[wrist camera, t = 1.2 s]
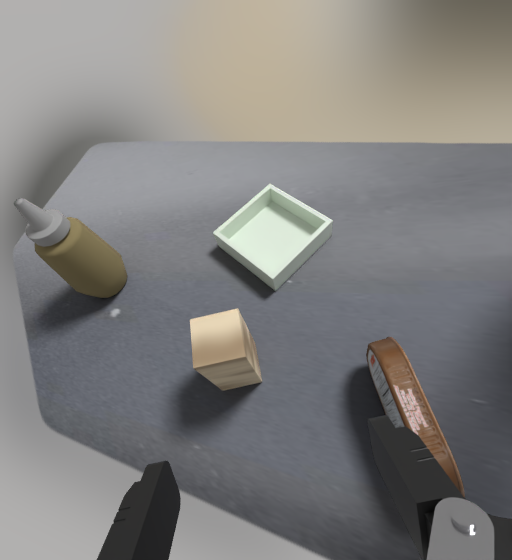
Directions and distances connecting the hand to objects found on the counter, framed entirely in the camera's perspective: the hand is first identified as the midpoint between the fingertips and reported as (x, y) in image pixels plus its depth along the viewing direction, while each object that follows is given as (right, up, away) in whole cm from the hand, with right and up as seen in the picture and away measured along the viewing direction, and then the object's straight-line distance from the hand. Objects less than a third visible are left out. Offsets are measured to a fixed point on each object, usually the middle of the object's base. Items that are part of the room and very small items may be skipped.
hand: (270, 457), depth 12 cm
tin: (+15, -8, +22) cm, 28 cm away
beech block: (-3, -4, +27) cm, 28 cm away
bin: (+2, +13, +36) cm, 39 cm away
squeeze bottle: (-24, +7, +38) cm, 45 cm away
